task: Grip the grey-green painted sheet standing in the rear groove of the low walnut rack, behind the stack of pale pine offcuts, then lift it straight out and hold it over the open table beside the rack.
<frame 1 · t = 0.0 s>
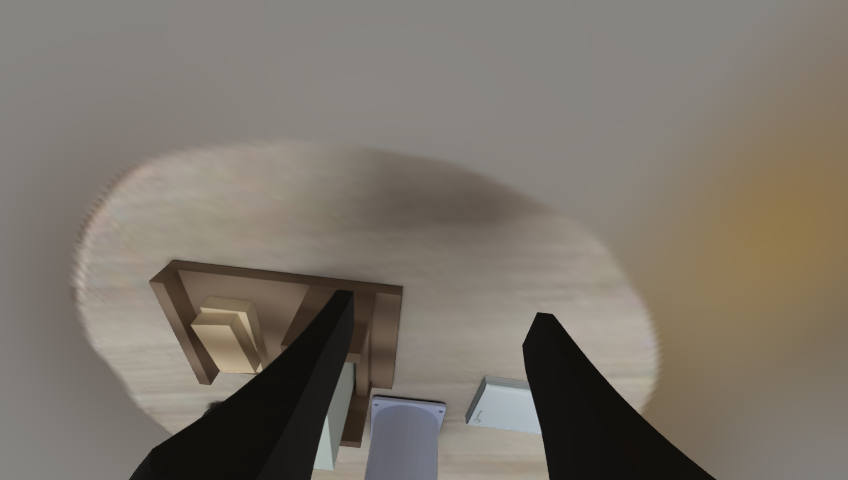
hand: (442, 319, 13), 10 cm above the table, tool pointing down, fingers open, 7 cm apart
hard drive: (529, 398, 35), on the table
offcut stack: (241, 331, 28), point 1 cm above the table, touching rack
rack: (297, 328, 29), on the table
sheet: (345, 342, 28), point 1 cm above the table, touching rack
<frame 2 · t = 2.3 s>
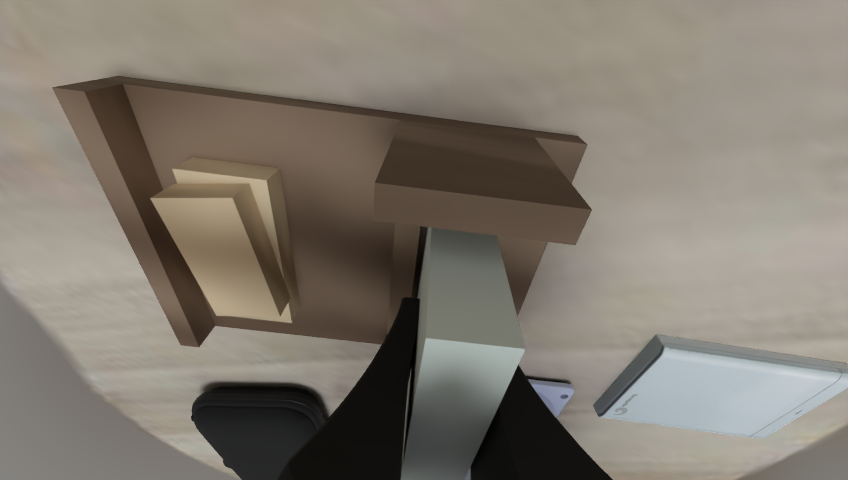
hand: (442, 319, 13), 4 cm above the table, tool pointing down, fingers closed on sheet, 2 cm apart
hard drive: (701, 376, 22), on the table
offcut stack: (254, 242, 15), point 1 cm above the table, touching rack
rack: (353, 242, 16), on the table
carrying case or bag: (280, 423, 29), on the table
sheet: (442, 265, 16), point 1 cm above the table, touching gripper, rack
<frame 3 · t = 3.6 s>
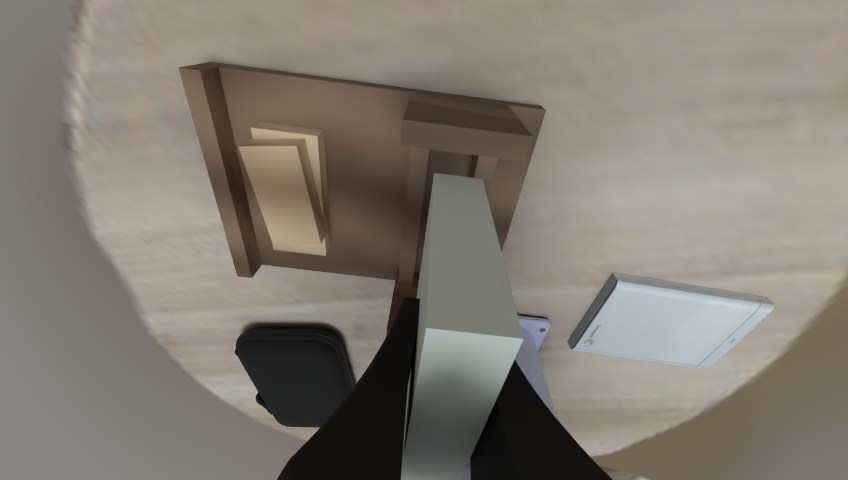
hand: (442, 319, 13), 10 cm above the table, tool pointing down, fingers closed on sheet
hard drive: (655, 314, 27), on the table
offcut stack: (300, 190, 20), point 1 cm above the table, touching rack
rack: (374, 192, 21), on the table
carrying case or bag: (305, 365, 33), on the table
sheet: (442, 261, 16), point 7 cm above the table, touching gripper
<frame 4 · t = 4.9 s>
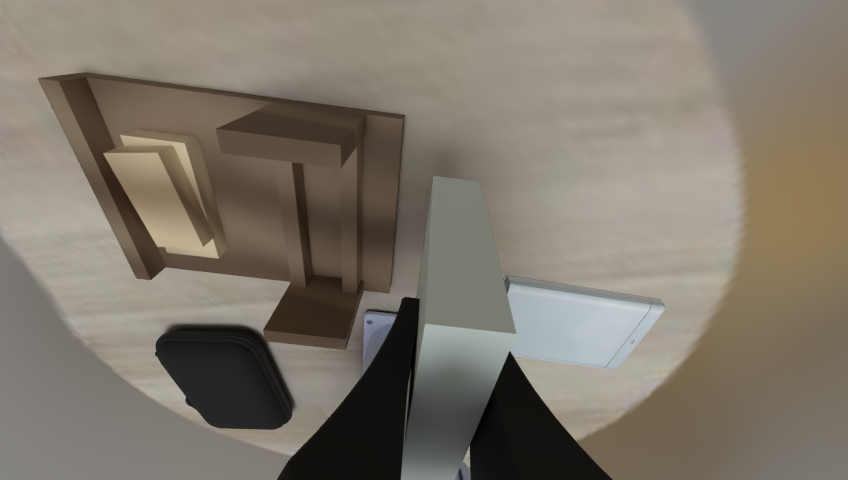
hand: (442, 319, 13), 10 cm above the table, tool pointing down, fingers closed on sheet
hard drive: (561, 316, 28), on the table
offcut stack: (187, 195, 21), point 1 cm above the table, touching rack
rack: (264, 197, 22), on the table
carrying case or bag: (234, 367, 34), on the table
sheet: (441, 261, 16), point 6 cm above the table, touching gripper
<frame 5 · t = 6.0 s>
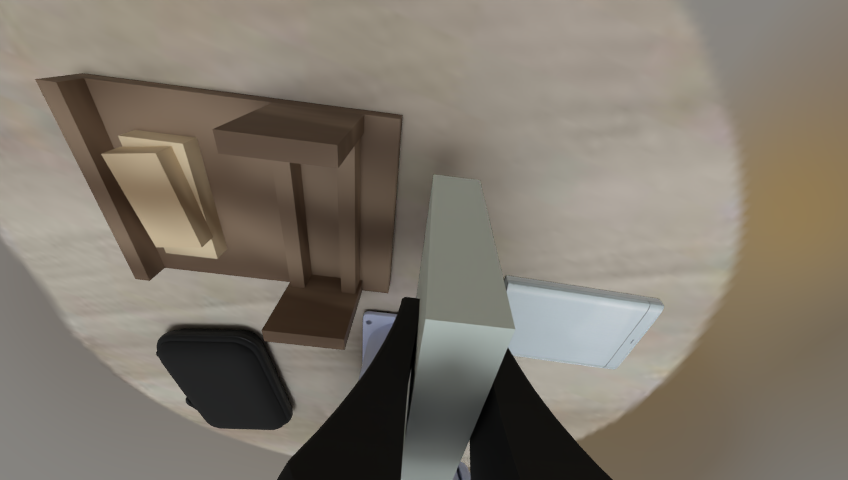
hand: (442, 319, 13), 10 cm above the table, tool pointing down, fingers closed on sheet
hard drive: (560, 316, 28), on the table
offcut stack: (186, 195, 21), point 1 cm above the table, touching rack
rack: (263, 197, 22), on the table
carrying case or bag: (235, 367, 34), on the table
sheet: (441, 259, 16), point 6 cm above the table, touching gripper
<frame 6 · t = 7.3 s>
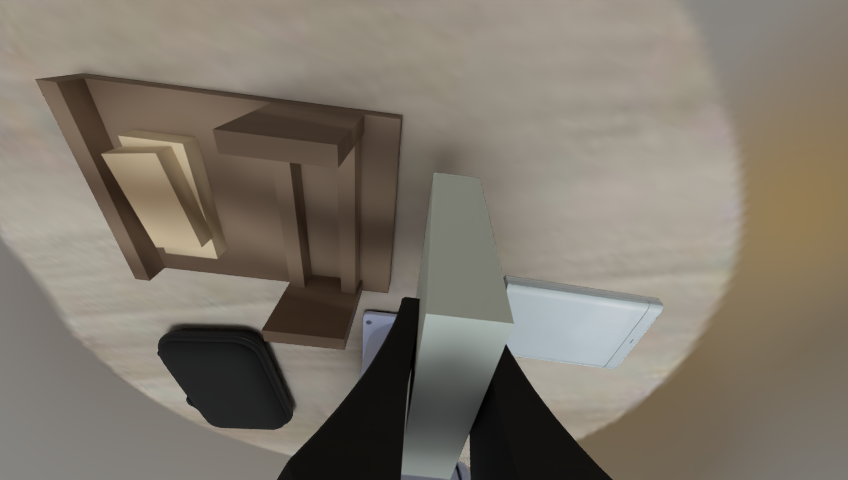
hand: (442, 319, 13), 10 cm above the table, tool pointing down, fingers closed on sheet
hard drive: (559, 316, 28), on the table
offcut stack: (186, 195, 21), point 1 cm above the table, touching rack
rack: (263, 197, 22), on the table
carrying case or bag: (236, 367, 34), on the table
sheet: (441, 257, 16), point 6 cm above the table, touching gripper
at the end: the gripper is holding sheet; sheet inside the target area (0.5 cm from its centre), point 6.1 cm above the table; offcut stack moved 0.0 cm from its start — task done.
